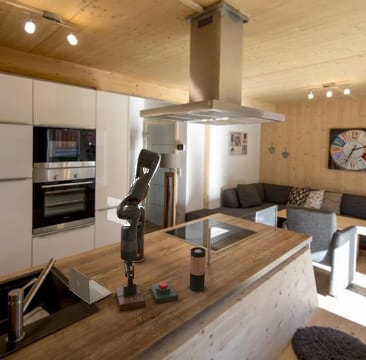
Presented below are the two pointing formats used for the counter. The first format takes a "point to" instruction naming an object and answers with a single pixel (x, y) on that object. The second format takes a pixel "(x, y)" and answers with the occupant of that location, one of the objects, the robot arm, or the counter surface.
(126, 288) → the grip knob
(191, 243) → the counter surface
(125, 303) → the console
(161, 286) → the red button
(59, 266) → the counter surface
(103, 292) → the laptop
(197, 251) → the travel mug
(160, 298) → the button block
